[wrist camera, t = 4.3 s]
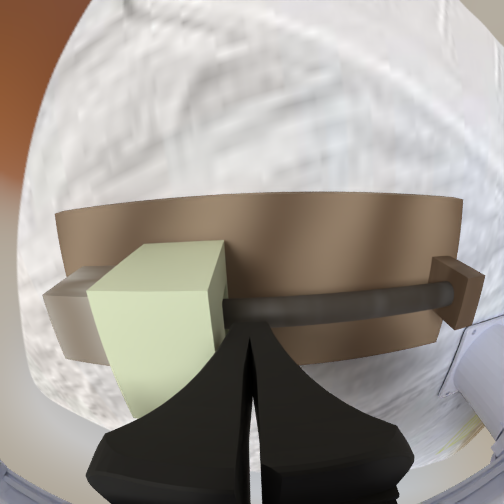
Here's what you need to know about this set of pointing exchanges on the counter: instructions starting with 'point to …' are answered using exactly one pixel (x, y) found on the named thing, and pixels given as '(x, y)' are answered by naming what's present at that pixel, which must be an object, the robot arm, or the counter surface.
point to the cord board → (289, 267)
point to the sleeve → (161, 318)
